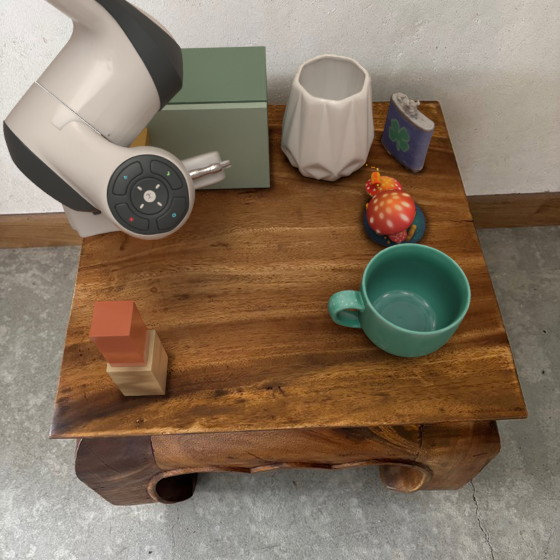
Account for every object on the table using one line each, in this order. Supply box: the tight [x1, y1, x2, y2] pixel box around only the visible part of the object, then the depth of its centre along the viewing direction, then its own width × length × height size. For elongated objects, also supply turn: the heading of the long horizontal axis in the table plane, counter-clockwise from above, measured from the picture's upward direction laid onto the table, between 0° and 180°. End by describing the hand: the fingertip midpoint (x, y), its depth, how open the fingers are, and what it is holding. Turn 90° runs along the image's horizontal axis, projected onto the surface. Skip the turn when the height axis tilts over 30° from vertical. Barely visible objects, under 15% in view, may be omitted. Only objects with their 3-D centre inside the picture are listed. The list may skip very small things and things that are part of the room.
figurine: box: [362, 163, 427, 248], centre depth 77 cm, size 12×9×8 cm
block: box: [88, 299, 150, 367], centre depth 58 cm, size 4×4×8 cm
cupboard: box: [167, 45, 271, 174], centre depth 81 cm, size 11×20×16 cm, turn 92°
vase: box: [280, 53, 375, 182], centre depth 81 cm, size 14×14×15 cm
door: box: [129, 102, 271, 190], centre depth 76 cm, size 7×20×16 cm, turn 92°
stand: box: [105, 329, 169, 397], centre depth 65 cm, size 5×5×8 cm
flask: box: [380, 91, 436, 173], centre depth 83 cm, size 9×3×11 cm, turn 30°
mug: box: [327, 243, 472, 358], centre depth 68 cm, size 17×13×10 cm
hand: (144, 185), depth 75 cm, fingers open, 8 cm apart
